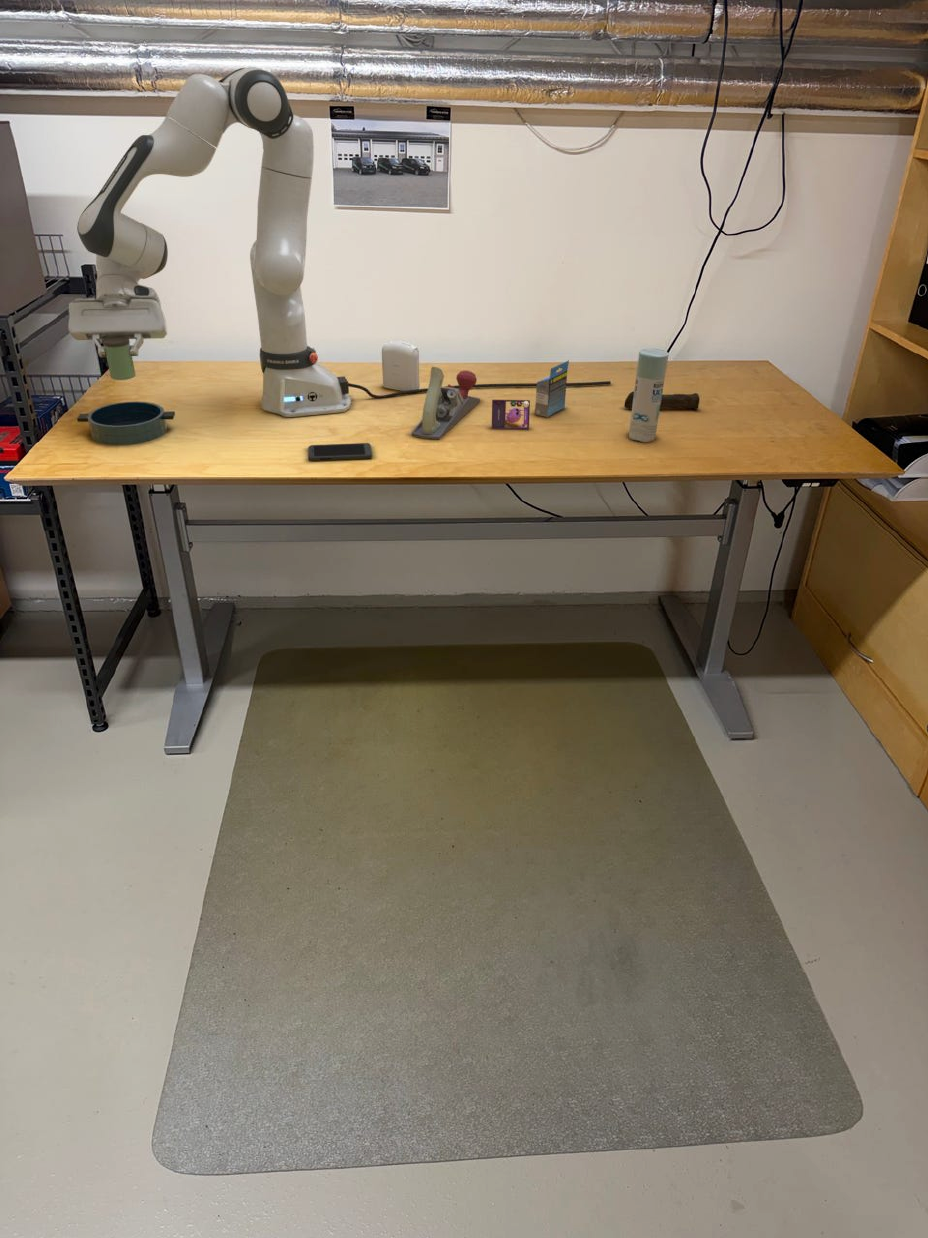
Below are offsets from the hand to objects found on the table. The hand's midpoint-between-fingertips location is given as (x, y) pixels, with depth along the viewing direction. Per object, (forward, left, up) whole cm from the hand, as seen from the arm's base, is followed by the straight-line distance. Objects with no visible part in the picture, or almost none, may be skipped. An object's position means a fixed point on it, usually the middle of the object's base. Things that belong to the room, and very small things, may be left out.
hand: (118, 355), depth 187 cm
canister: (0, -1, -5) cm, 5 cm away
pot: (+1, -2, -18) cm, 19 cm away
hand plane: (-73, -6, -19) cm, 76 cm away
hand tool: (-129, -7, -19) cm, 130 cm away
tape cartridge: (-100, -8, -19) cm, 102 cm away
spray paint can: (-118, +11, -19) cm, 120 cm away
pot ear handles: (+1, -2, -15) cm, 15 cm away
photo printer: (-64, -28, -19) cm, 72 cm away
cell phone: (-47, +15, -18) cm, 52 cm away
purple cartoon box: (-88, +1, -19) cm, 90 cm away
